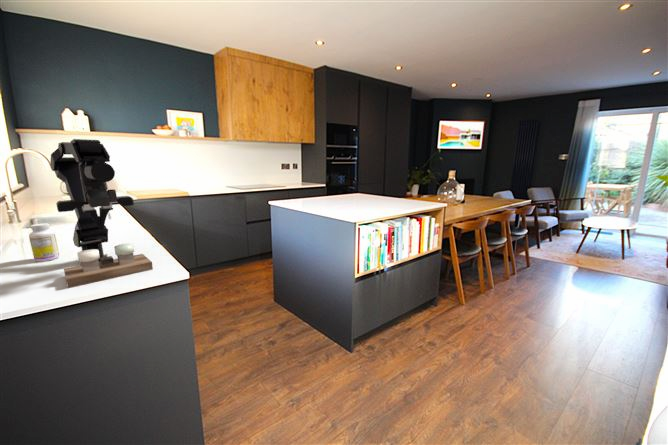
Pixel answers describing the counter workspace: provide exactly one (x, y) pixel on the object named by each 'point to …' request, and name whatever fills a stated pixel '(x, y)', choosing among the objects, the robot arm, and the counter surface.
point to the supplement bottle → (43, 243)
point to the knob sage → (124, 249)
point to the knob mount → (106, 269)
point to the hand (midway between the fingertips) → (101, 229)
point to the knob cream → (88, 255)
